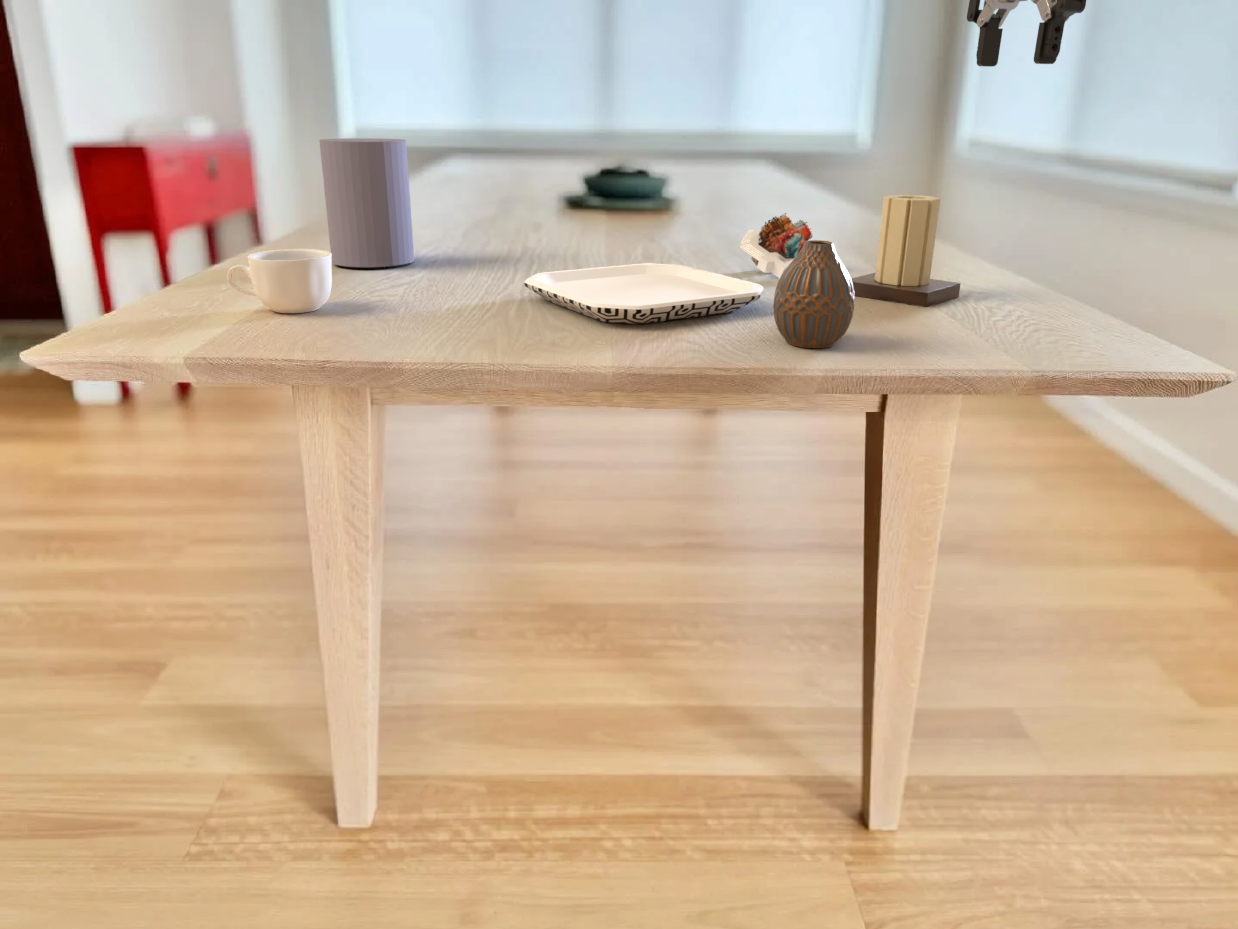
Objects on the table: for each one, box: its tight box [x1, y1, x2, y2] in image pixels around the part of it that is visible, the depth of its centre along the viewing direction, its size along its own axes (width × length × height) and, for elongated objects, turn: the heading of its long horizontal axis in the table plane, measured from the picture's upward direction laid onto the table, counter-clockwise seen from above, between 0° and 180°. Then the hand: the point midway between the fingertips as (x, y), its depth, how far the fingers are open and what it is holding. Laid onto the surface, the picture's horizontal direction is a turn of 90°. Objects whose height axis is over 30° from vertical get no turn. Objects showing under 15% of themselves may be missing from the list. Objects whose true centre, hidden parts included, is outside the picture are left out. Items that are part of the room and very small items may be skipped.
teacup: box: [226, 248, 333, 314], centre depth 92 cm, size 10×8×5 cm
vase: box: [773, 239, 856, 349], centre depth 80 cm, size 7×7×9 cm
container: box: [319, 137, 415, 270], centre depth 116 cm, size 10×10×15 cm
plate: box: [523, 262, 765, 325], centre depth 97 cm, size 21×21×2 cm
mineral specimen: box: [739, 212, 813, 280], centre depth 116 cm, size 12×12×7 cm
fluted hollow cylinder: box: [874, 194, 941, 286], centre depth 101 cm, size 6×6×9 cm
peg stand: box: [851, 272, 961, 308], centre depth 101 cm, size 10×8×8 cm
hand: (1014, 64), depth 96 cm, fingers open, 8 cm apart
